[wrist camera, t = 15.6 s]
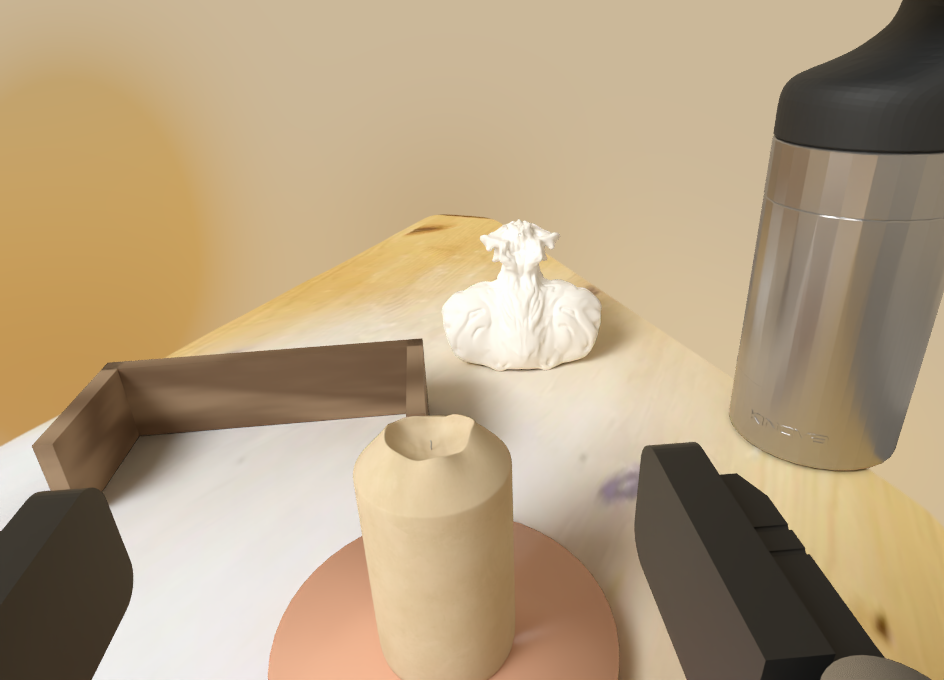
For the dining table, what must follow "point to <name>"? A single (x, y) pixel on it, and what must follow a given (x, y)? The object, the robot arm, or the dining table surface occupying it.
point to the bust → (521, 308)
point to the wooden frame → (225, 400)
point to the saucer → (536, 620)
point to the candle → (439, 546)
